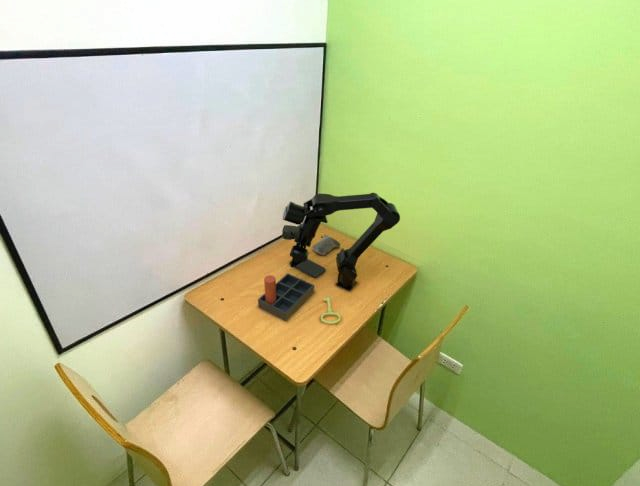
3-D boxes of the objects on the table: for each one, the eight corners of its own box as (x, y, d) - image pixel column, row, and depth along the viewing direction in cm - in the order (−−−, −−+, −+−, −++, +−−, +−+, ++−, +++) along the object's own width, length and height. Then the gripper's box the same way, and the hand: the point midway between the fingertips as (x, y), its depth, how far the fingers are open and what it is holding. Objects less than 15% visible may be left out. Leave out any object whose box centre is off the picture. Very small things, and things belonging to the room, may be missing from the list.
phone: (300, 254, 163) (326, 268, 156) (300, 256, 164) (326, 270, 157) (288, 262, 159) (315, 277, 151) (288, 263, 159) (315, 278, 152)
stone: (308, 252, 171) (322, 262, 165) (306, 244, 167) (320, 253, 161) (328, 238, 175) (342, 247, 169) (326, 230, 172) (341, 238, 165)
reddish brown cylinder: (277, 301, 140) (276, 276, 132) (274, 308, 137) (273, 283, 129) (267, 299, 140) (266, 274, 132) (264, 307, 137) (262, 281, 129)
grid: (313, 292, 146) (314, 285, 143) (285, 321, 133) (285, 313, 131) (287, 280, 151) (287, 273, 148) (258, 307, 138) (257, 299, 135)
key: (328, 299, 143) (329, 295, 142) (342, 322, 134) (343, 318, 133) (311, 304, 141) (311, 300, 139) (324, 327, 132) (324, 323, 131)
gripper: (292, 207, 138) (278, 239, 147) (284, 231, 123) (269, 265, 132) (319, 218, 140) (304, 250, 149) (314, 244, 125) (297, 277, 134)
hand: (293, 260), depth 141 cm, fingers open, 9 cm apart
